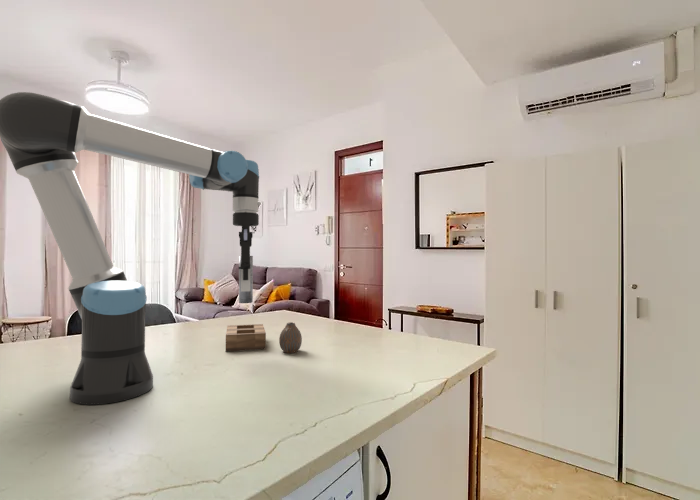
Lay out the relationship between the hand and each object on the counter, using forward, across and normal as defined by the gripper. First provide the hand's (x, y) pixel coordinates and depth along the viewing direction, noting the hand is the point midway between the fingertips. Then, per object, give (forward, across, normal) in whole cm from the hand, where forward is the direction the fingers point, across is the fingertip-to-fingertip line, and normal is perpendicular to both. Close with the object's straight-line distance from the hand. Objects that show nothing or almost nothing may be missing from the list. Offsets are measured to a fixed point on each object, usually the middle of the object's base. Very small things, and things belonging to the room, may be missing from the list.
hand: (245, 290), depth 113 cm
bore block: (+19, +12, 0) cm, 23 cm away
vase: (+19, 0, -13) cm, 24 cm away
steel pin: (+4, 0, 0) cm, 4 cm away
